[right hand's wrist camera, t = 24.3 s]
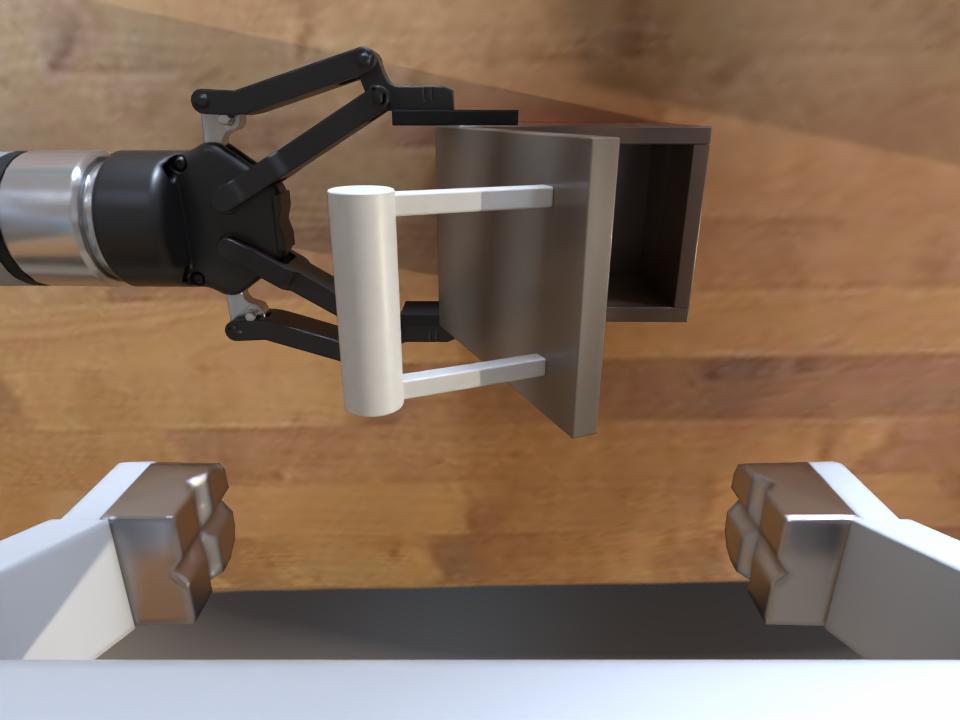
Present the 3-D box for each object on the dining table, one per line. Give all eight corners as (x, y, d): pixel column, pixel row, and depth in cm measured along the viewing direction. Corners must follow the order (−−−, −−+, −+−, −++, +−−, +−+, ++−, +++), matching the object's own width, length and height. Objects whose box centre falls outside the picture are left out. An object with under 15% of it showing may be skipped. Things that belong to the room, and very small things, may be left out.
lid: (621, 137, 20) (341, 141, 17) (597, 433, 24) (365, 483, 20) (455, 125, 32) (274, 126, 29) (456, 322, 36) (297, 343, 32)
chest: (664, 122, 41) (713, 126, 32) (648, 280, 45) (687, 322, 36) (453, 121, 41) (445, 125, 32) (455, 279, 45) (448, 321, 36)
